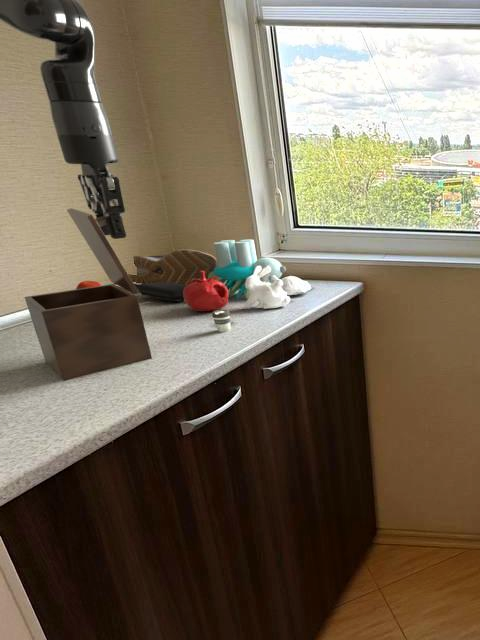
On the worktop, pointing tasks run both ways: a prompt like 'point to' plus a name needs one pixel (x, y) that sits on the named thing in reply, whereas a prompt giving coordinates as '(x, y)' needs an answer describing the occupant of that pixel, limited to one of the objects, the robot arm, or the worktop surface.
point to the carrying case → (163, 290)
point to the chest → (89, 329)
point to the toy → (241, 265)
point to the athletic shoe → (173, 267)
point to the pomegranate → (206, 294)
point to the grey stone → (294, 285)
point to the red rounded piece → (87, 284)
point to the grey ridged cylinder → (222, 320)
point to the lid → (102, 248)
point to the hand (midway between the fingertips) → (113, 235)
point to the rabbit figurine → (265, 291)
